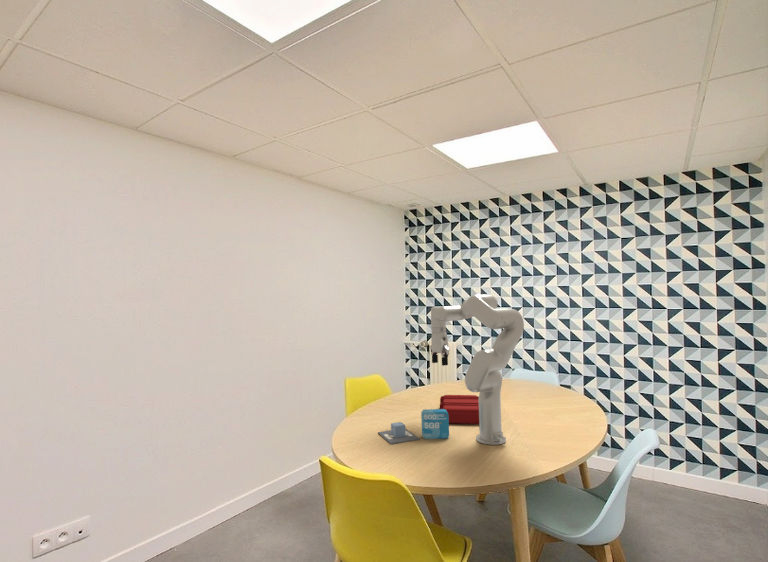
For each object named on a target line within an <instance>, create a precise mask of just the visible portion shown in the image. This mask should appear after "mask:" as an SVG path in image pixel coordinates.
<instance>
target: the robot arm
mask: <svg viewBox="0 0 768 562" xmlns="http://www.w3.org/2000/svg"><path fill="white" fill-rule="evenodd" d="M471 318H475V319H476V320H478V321H479V322H480V323H481V324H482V325H484V326H485V328H487V329H490V330H501V329H502V331H501V332H499V334H498V335H497V337H495V340H494V343H493V345H492V346H491V347H490V348H487V349H485V348H484V349H481V350H478V351H477V352H476V353H475V354H474V356H473V358H472V359H471V362H470V363H469V366H468V368H467V371H466V373H465V376H464V384H465V387H466V389H467V390H468V391H470V392H472V393H479V394H478V397H479V399H478V402H479V424H478V426H479V428H478V429H479V430H478V431H479V434H477V435H476V437H475V440H476V441H477V442H479V443H480V444H484V445H491V446H498V445H502V444H505V443H506V441H507V437H506V436H504V431H503V429H502V405H501V399H502V398H501V392H502V385H503V377H502V374H501V372H500V371H501V370H504V369H505V368H506V367H507V365H508V363H509V361H510V360H511V358H512V355H513V353H514V352H515V349H516V346H517V345H518V342H519V341H520V340H521V338H522V336H523V333H524V329H525V322H524V319H523V316H522V314H521V313H520V312H519V311H518V310H516V309H514V308H509V307H508V308H506V307H505V308H503V307H502V308H498V300H497V299H496V297H495V296H493V294H492V295H491V294H473V295H470V296H468V298H467V299H465V300H463V302H462V303H461V304H459V305H447V306H446V305H443V306H432V307H431V308H430V323H431V325H430V326H431V340H430V341H431V345H430V346H429V348H430V353H431V363H432V364H438V363H439V355H438V354H441V366H442V367H443V366H448V365H449V355H450V348H449V338H448V333H447V323H446V322H450V321H451V322H454V321H462V320H467V319H471Z"/></svg>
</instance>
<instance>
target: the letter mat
mask: <svg viewBox="0 0 768 562" xmlns="http://www.w3.org/2000/svg"><path fill="white" fill-rule="evenodd" d="M377 434H378V435H379V434H380V435H381V438H383V439H384V440H385V441H386V442H387V443H389V445H395V444H396V445H397V444H402V443H407V442H414V441H420V437H419V436H417V435H415V434H414V433H413V432H411V431H410V430H408V429H407V428H406V427H405V435H406V436H403V437H397V438H395V437H394V436H393V435H391V429H390V430H384V431H378V432H377ZM380 435H379V436H380Z"/></svg>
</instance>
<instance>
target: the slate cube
mask: <svg viewBox="0 0 768 562" xmlns="http://www.w3.org/2000/svg"><path fill="white" fill-rule="evenodd" d="M405 428H406V423H405V424H404V423H403V422H401V421H399V422H397V421H396V422H392V423H390V430H391V435H393V436H394V437H395V438H397V437H403V436H406V435H405Z"/></svg>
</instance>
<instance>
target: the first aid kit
mask: <svg viewBox="0 0 768 562" xmlns="http://www.w3.org/2000/svg"><path fill="white" fill-rule="evenodd" d="M478 399H479V395H477V394H475V395H474V394H444V395H442V396H440V398H439V409H445V410H446V411H447V412H448V415H449V424H458V425H459V424H463V425H465V424H466V425H467V424H468V425H479V402H478Z"/></svg>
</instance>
